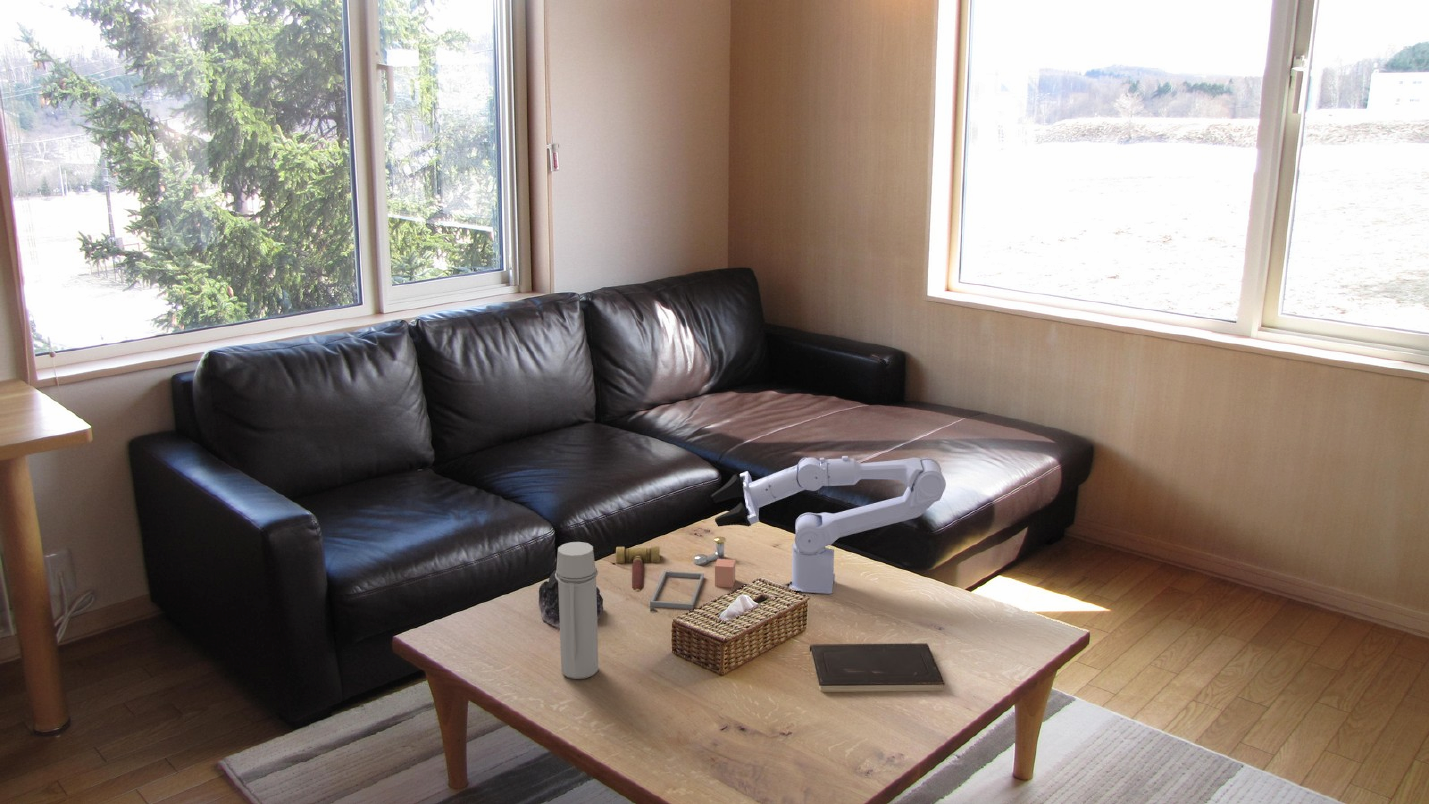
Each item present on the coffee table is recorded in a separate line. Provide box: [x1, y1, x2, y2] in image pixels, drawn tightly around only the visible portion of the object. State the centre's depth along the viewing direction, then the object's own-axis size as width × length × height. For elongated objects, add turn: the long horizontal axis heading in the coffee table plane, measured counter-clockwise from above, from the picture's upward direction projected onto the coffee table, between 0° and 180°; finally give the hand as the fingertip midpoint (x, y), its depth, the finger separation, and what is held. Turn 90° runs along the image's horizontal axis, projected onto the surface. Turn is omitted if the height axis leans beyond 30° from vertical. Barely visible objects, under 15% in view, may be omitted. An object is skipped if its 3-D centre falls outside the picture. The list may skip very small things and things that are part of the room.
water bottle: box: [555, 541, 599, 680], centre depth 208 cm, size 9×8×25 cm
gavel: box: [615, 545, 661, 592], centre depth 252 cm, size 21×5×10 cm
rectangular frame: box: [649, 570, 705, 612], centre depth 243 cm, size 9×16×2 cm, turn 172°
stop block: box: [714, 558, 736, 588], centre depth 247 cm, size 4×4×6 cm
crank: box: [693, 536, 727, 566], centre depth 259 cm, size 8×3×5 cm, turn 127°
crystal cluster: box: [538, 569, 604, 629], centre depth 234 cm, size 13×14×10 cm
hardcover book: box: [809, 642, 946, 693], centre depth 213 cm, size 16×23×2 cm
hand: (714, 510), depth 246 cm, fingers open, 7 cm apart
